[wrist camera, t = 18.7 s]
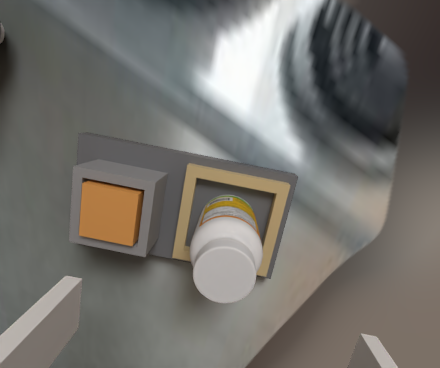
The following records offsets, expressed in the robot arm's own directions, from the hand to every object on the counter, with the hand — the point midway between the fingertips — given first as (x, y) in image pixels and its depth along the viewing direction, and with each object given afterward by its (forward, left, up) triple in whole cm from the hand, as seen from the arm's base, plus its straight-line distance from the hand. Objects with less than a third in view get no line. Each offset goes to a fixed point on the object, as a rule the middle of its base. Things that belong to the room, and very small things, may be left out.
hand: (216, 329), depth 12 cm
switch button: (-9, +4, -13) cm, 16 cm away
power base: (-4, +2, -15) cm, 16 cm away
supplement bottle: (0, 0, -14) cm, 14 cm away
